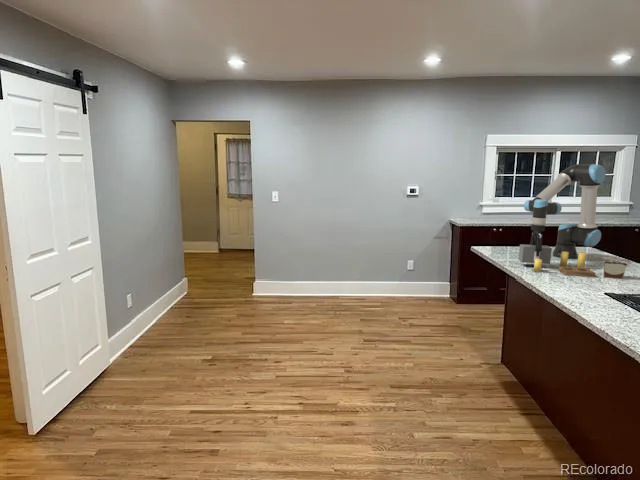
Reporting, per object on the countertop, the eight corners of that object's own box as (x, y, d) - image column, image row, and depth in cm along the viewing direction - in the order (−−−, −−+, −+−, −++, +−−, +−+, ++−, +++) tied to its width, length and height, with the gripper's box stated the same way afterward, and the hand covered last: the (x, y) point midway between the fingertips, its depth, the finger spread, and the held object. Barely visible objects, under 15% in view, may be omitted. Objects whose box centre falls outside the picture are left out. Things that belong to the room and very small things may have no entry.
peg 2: (575, 267, 269) (577, 252, 267) (582, 267, 268) (584, 252, 266) (578, 269, 265) (580, 253, 263) (585, 269, 264) (587, 253, 262)
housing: (518, 259, 274) (520, 244, 273) (545, 261, 272) (547, 245, 270) (521, 262, 266) (523, 246, 265) (550, 264, 263) (552, 248, 262)
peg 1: (558, 266, 270) (560, 251, 269) (565, 266, 270) (567, 251, 268) (560, 268, 267) (562, 252, 265) (567, 268, 266) (569, 252, 264)
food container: (622, 276, 248) (624, 260, 246) (625, 279, 242) (628, 262, 240) (597, 274, 252) (600, 258, 250) (600, 277, 246) (603, 260, 244)
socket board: (557, 270, 261) (558, 266, 260) (586, 272, 258) (586, 268, 257) (565, 275, 249) (565, 271, 249) (594, 277, 246) (595, 273, 246)
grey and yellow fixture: (531, 269, 260) (532, 258, 259) (554, 271, 258) (556, 259, 256) (534, 272, 255) (535, 260, 254) (557, 273, 253) (558, 261, 252)
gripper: (527, 221, 275) (523, 255, 280) (537, 226, 255) (532, 263, 259) (539, 222, 274) (535, 256, 278) (550, 227, 254) (546, 263, 258)
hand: (534, 259), depth 269 cm, fingers closed on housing, 8 cm apart
